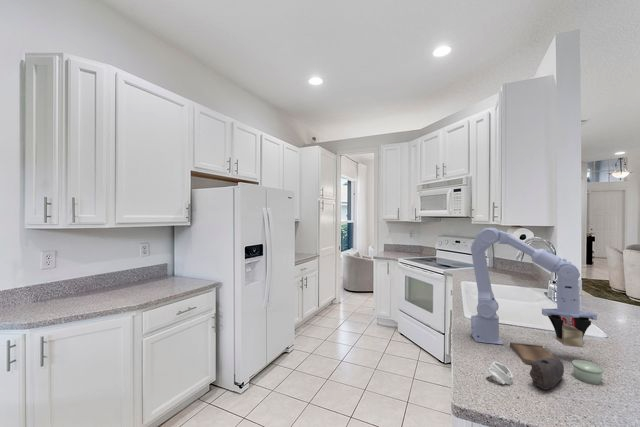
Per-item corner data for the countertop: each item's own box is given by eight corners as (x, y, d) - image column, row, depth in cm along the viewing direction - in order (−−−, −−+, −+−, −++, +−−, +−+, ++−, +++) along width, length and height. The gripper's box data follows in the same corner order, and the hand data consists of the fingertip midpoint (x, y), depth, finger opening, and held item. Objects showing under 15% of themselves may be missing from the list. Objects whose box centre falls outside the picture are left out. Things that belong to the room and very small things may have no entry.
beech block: (564, 345, 91) (563, 330, 92) (556, 339, 96) (555, 324, 96) (583, 347, 90) (582, 332, 90) (573, 341, 95) (573, 326, 95)
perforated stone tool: (551, 372, 85) (550, 349, 85) (573, 381, 80) (572, 356, 80) (524, 385, 78) (523, 360, 78) (546, 396, 73) (545, 369, 73)
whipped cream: (489, 372, 86) (487, 356, 87) (515, 378, 82) (513, 361, 83) (484, 382, 80) (482, 364, 81) (512, 389, 76) (510, 370, 77)
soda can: (587, 345, 103) (585, 312, 103) (565, 343, 104) (564, 311, 105) (573, 337, 110) (572, 307, 110) (553, 335, 111) (552, 306, 111)
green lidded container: (581, 383, 79) (581, 370, 79) (567, 370, 85) (566, 358, 85) (609, 386, 77) (609, 373, 77) (592, 373, 84) (592, 361, 84)
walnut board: (526, 364, 89) (525, 360, 89) (509, 345, 102) (509, 342, 102) (563, 369, 86) (563, 364, 86) (541, 349, 99) (541, 345, 100)
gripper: (548, 299, 92) (549, 340, 91) (602, 303, 88) (604, 346, 87) (538, 294, 99) (539, 332, 98) (588, 297, 94) (589, 337, 94)
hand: (569, 338), depth 93 cm, fingers closed on beech block, 5 cm apart
